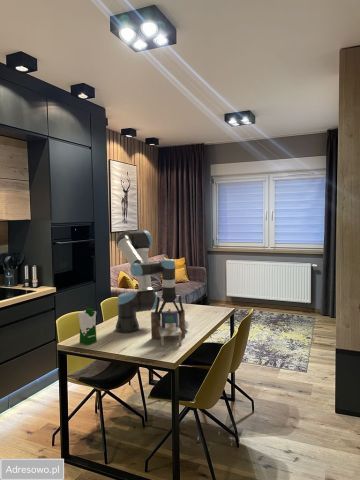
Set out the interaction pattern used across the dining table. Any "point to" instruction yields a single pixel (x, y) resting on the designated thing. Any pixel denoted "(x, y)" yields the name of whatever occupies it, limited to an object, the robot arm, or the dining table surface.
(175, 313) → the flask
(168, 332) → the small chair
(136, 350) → the dining table surface
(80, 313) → the milk carton
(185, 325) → the pretzel
